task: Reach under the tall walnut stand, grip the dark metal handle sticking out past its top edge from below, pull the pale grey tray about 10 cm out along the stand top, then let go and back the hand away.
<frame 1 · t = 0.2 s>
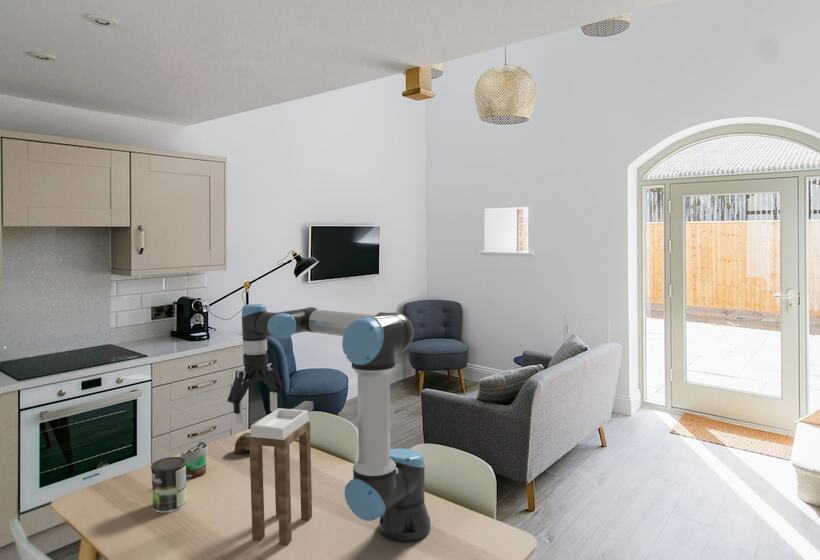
hand: (257, 417, 173), 28 cm above the table, tool pointing down, fingers open, 13 cm apart
food container: (198, 474, 196), on the table
coffee can: (170, 505, 173), on the table
sliding tray: (289, 417, 161), point 32 cm above the table, slide at 0.0 cm
walnut stand: (283, 528, 158), on the table
seashell: (248, 452, 216), on the table
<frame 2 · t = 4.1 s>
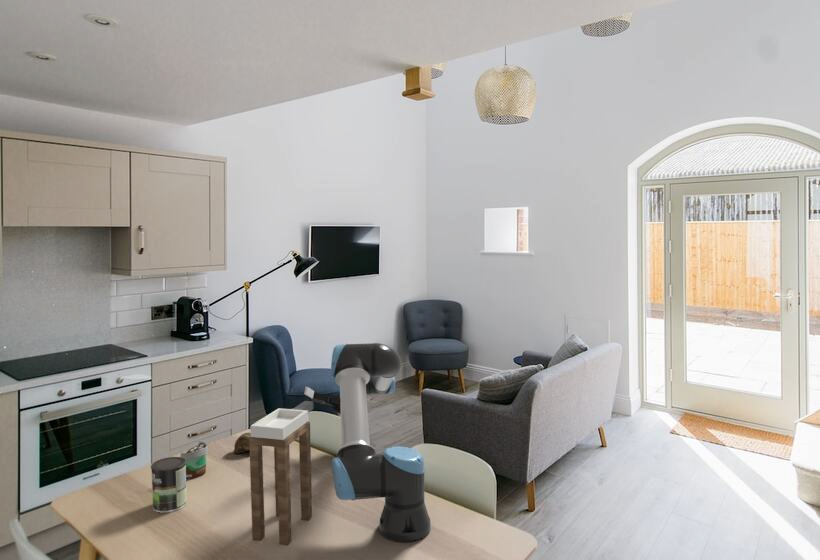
hand: (323, 391, 189), 32 cm above the table, tool pointing upward, fingers open, 13 cm apart
nothing on the table moved.
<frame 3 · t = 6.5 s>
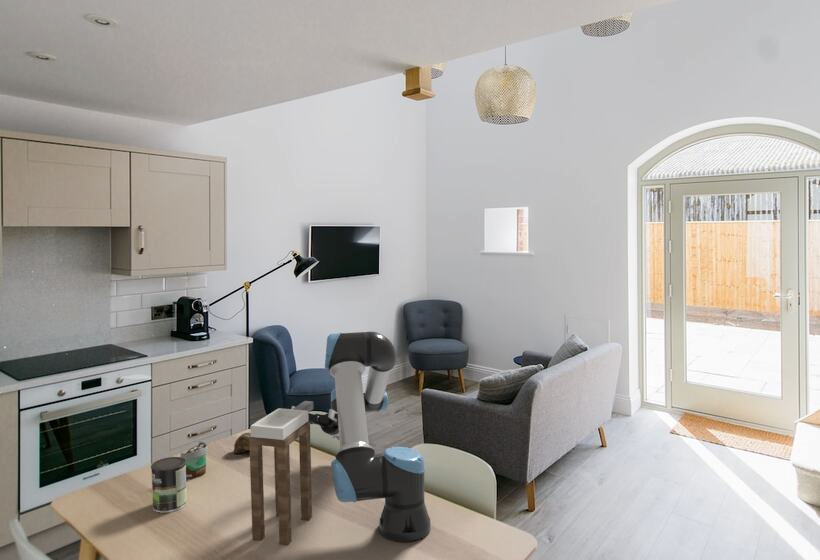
hand: (310, 411, 177), 29 cm above the table, tool pointing upward, fingers open, 13 cm apart
nothing on the table moved.
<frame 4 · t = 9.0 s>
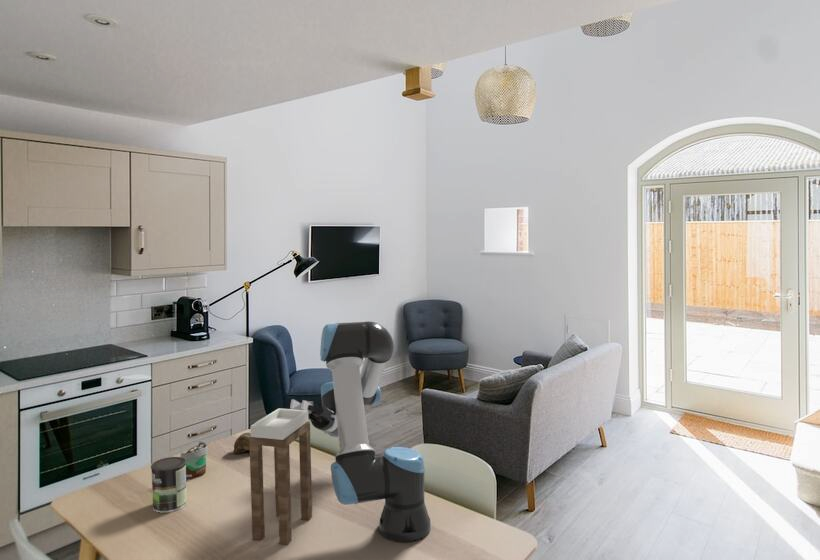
hand: (297, 404, 166), 34 cm above the table, tool pointing upward, fingers closed on sliding tray, 3 cm apart
sliding tray: (289, 417, 161), point 32 cm above the table, slide at 0.0 cm, touching gripper
everything else where it was.
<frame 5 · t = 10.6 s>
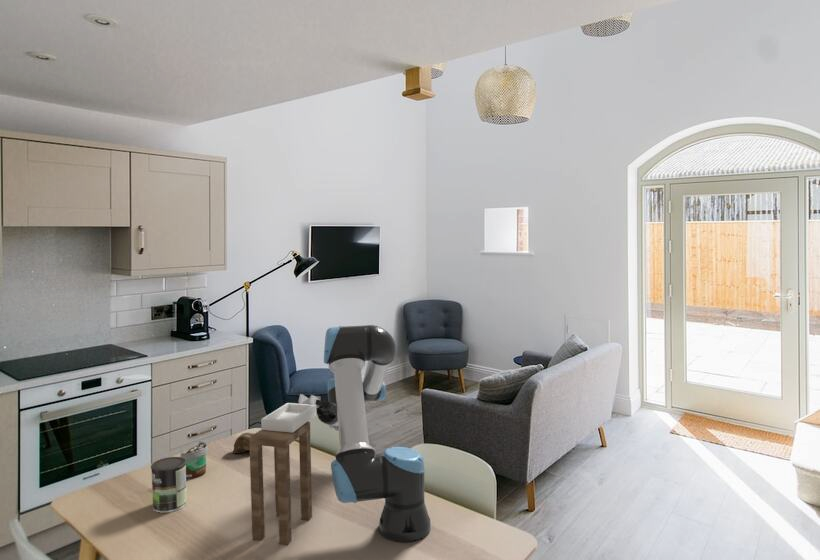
hand: (305, 398, 172), 34 cm above the table, tool pointing upward, fingers closed on sliding tray, 3 cm apart
sliding tray: (298, 411, 167), point 32 cm above the table, slide at 5.8 cm, touching gripper
everything else where it was.
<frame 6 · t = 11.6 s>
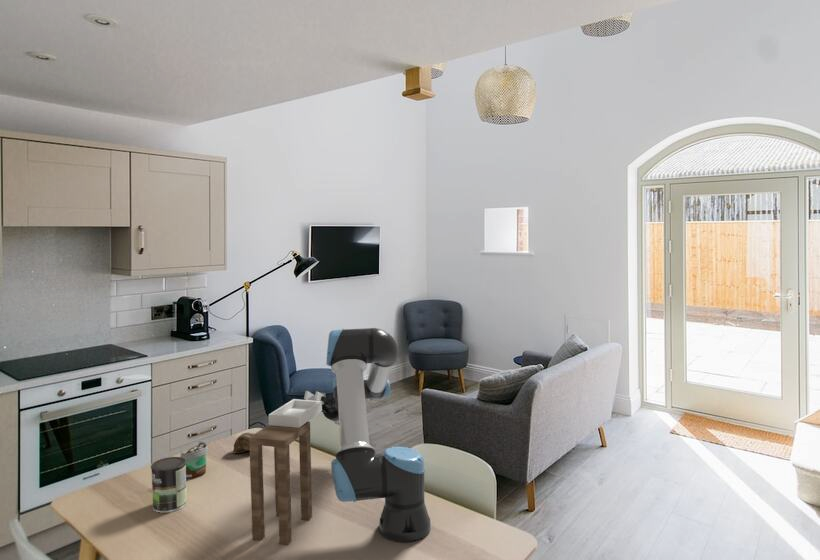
hand: (311, 395, 176), 34 cm above the table, tool pointing upward, fingers closed on sliding tray, 3 cm apart
sliding tray: (304, 407, 171), point 32 cm above the table, slide at 9.9 cm, touching gripper
everything else where it was.
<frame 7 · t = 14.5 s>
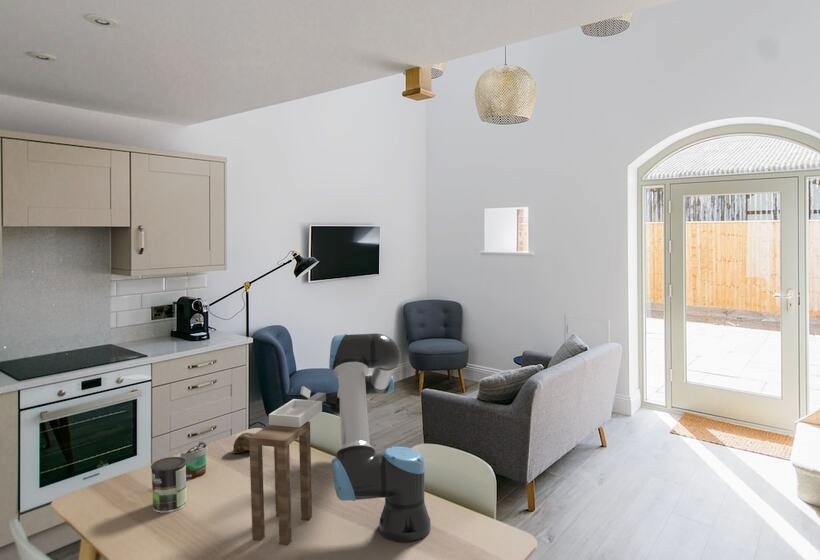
hand: (320, 391, 183), 33 cm above the table, tool pointing upward, fingers open, 13 cm apart
sliding tray: (304, 407, 171), point 32 cm above the table, slide at 10.0 cm
everything else where it was.
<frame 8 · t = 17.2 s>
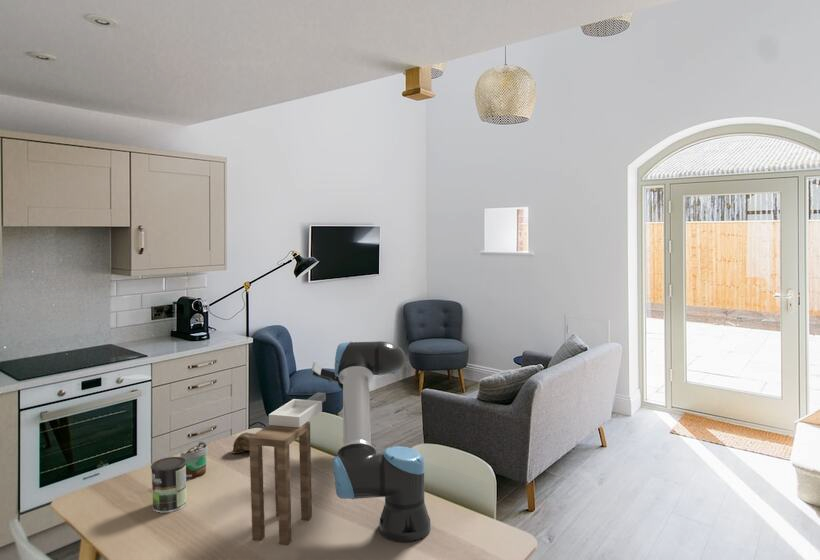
hand: (330, 367, 192), 40 cm above the table, tool pointing upward, fingers open, 13 cm apart
nothing on the table moved.
at the end: sliding tray slide at 10.0 cm; the gripper is holding nothing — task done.
